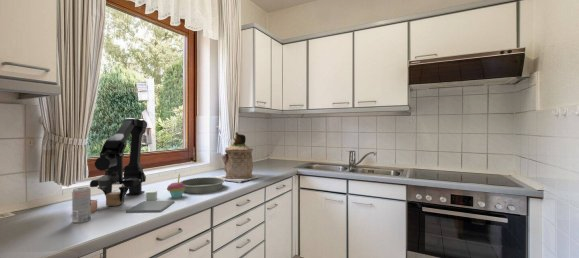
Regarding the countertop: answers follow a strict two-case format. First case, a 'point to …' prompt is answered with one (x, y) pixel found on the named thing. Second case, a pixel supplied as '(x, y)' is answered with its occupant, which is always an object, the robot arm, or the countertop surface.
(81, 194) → the energy drink
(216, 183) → the cake pan
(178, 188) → the cupcake
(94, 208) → the light brown block
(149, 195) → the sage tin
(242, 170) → the cookie jar
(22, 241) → the countertop surface
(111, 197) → the walnut cube
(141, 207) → the slate trivet
